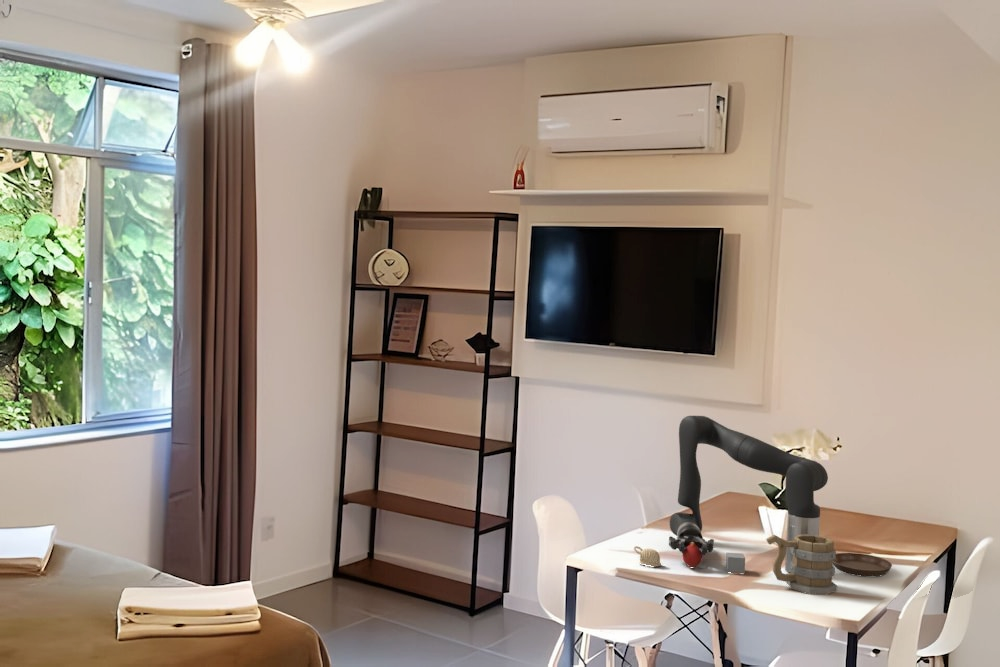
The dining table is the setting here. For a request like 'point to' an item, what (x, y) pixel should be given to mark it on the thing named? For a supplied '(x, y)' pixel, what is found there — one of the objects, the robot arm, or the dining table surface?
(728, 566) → the grey block
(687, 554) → the red squash
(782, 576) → the tankard
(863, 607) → the dining table surface
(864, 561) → the plant saucer
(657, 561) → the decorative ornament
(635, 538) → the dining table surface
